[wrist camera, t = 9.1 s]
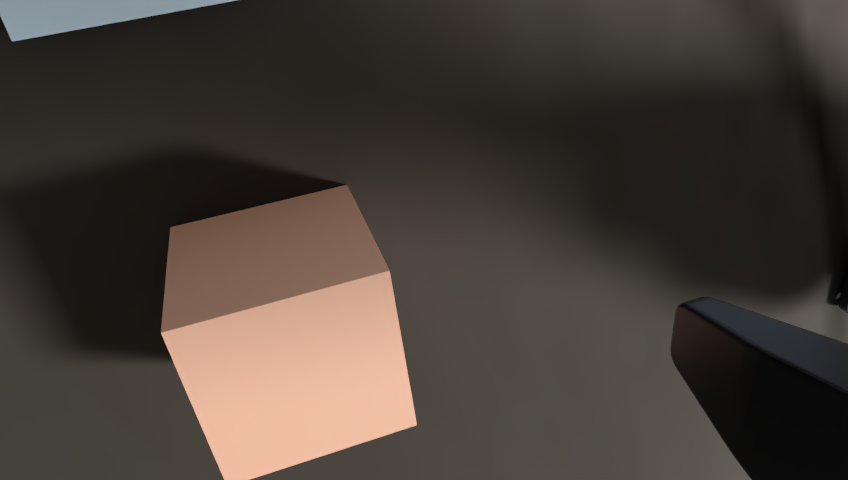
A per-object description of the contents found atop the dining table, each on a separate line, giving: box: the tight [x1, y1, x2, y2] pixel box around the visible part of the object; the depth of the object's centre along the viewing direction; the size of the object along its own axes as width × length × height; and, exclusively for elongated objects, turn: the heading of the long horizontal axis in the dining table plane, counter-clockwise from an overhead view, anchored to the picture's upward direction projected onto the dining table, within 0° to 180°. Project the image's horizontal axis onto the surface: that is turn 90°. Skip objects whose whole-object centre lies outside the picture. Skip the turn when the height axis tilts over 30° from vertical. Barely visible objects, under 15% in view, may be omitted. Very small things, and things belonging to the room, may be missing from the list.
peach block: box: [161, 185, 417, 480], centre depth 17 cm, size 5×5×5 cm
